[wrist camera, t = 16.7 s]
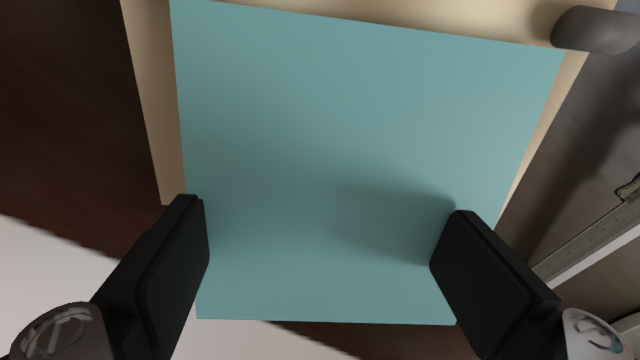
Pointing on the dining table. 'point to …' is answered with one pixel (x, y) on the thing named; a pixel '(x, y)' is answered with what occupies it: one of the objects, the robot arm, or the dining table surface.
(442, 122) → the latch flap
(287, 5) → the wooden block
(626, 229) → the caliper
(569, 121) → the dining table surface
